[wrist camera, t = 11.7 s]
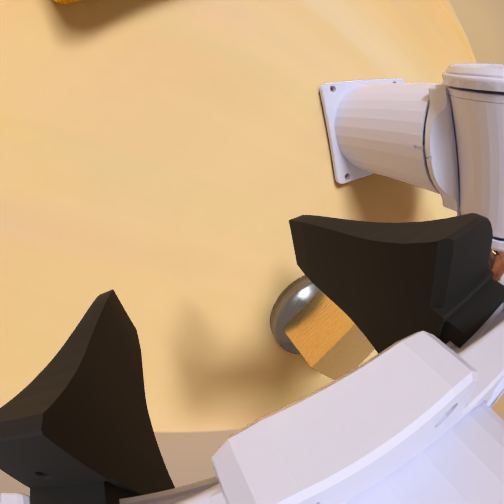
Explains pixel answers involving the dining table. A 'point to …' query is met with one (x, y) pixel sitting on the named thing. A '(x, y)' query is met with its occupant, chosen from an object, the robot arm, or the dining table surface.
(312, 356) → the wooden cube
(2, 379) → the dining table surface
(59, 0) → the element tile
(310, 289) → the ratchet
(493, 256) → the brown arched piece
